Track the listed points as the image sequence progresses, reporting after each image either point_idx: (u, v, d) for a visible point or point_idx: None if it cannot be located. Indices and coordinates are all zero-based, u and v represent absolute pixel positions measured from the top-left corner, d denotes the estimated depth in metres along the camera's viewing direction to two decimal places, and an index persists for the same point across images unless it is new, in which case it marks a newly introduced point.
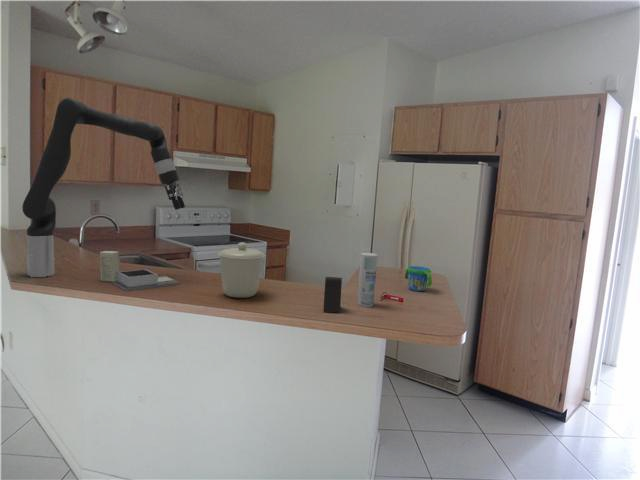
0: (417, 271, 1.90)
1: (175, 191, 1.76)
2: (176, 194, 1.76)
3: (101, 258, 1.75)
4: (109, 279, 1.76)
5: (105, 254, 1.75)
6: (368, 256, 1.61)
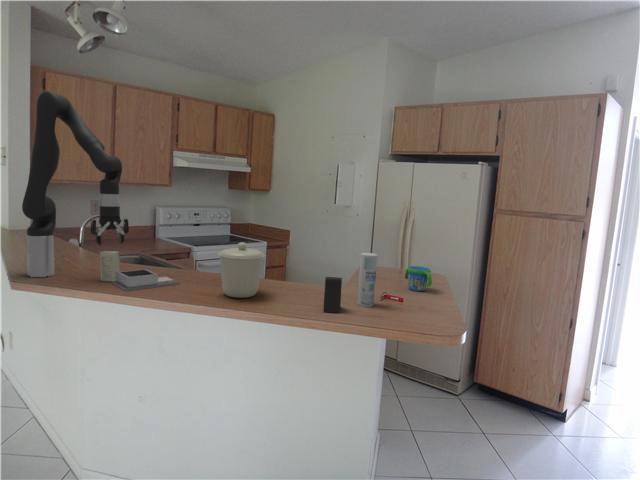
0: (417, 271, 1.90)
1: (102, 227, 1.72)
2: (101, 230, 1.72)
3: (101, 258, 1.75)
4: (109, 279, 1.76)
5: (105, 254, 1.75)
6: (368, 256, 1.61)
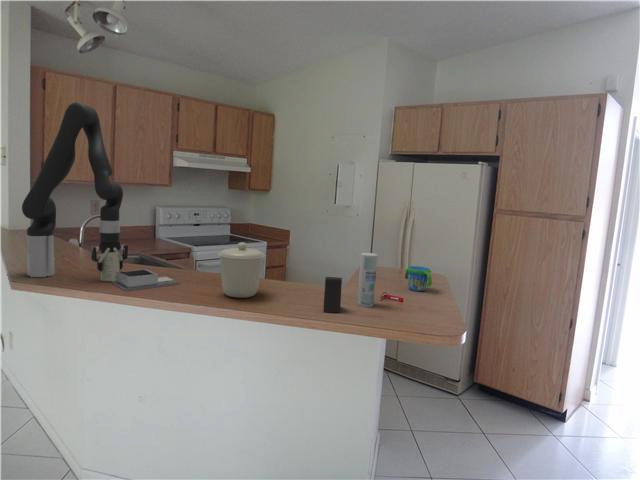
0: (417, 271, 1.90)
1: (102, 254, 1.74)
2: (102, 257, 1.74)
3: None
4: (109, 279, 1.76)
5: None
6: (368, 256, 1.61)
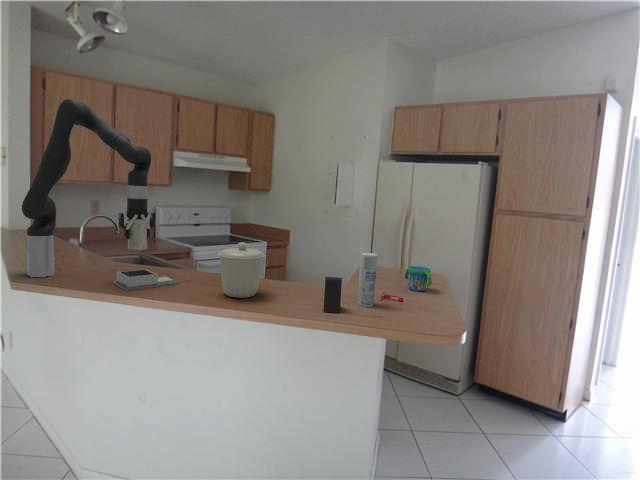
0: (417, 271, 1.90)
1: None
2: (129, 224, 1.67)
3: None
4: (136, 247, 1.69)
5: None
6: (368, 256, 1.61)
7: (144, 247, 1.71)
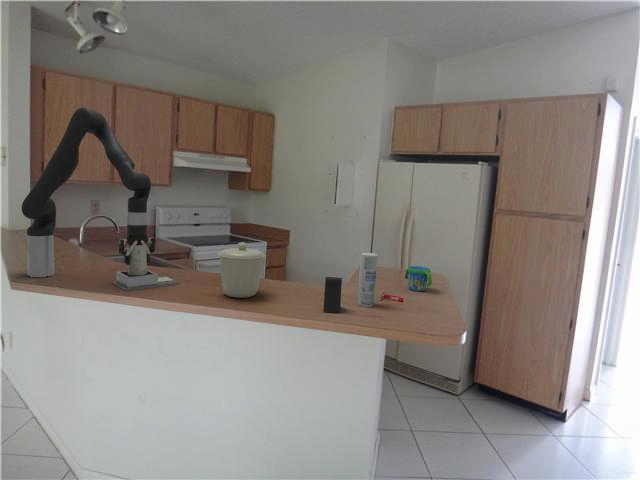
0: (417, 271, 1.90)
1: None
2: (129, 250, 1.68)
3: None
4: (136, 273, 1.71)
5: None
6: (368, 256, 1.61)
7: (144, 272, 1.72)
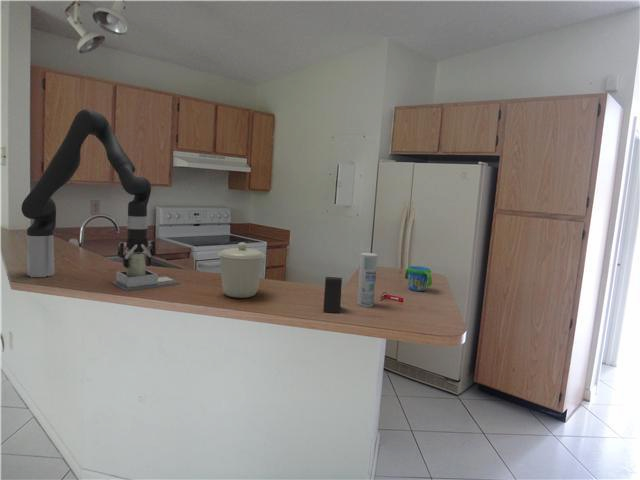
0: (417, 271, 1.90)
1: (130, 250, 1.68)
2: (129, 253, 1.68)
3: None
4: None
5: (131, 256, 1.70)
6: (368, 256, 1.61)
7: None
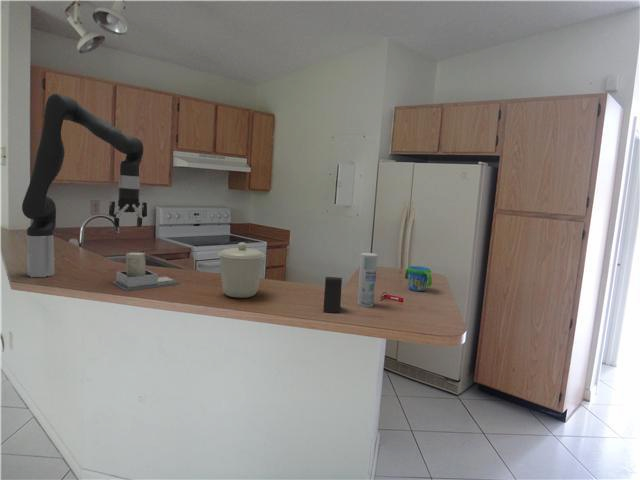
0: (417, 271, 1.90)
1: (121, 209, 1.69)
2: (120, 212, 1.69)
3: (127, 260, 1.70)
4: None
5: (131, 256, 1.70)
6: (368, 256, 1.61)
7: None
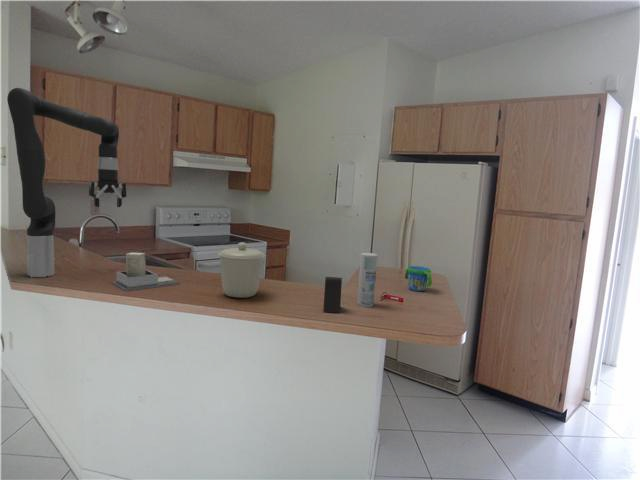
0: (417, 271, 1.90)
1: (100, 190, 1.77)
2: (99, 193, 1.77)
3: (127, 260, 1.70)
4: None
5: (131, 256, 1.70)
6: (368, 256, 1.61)
7: None
